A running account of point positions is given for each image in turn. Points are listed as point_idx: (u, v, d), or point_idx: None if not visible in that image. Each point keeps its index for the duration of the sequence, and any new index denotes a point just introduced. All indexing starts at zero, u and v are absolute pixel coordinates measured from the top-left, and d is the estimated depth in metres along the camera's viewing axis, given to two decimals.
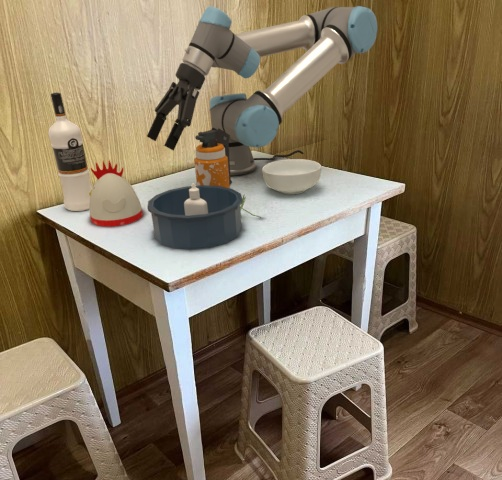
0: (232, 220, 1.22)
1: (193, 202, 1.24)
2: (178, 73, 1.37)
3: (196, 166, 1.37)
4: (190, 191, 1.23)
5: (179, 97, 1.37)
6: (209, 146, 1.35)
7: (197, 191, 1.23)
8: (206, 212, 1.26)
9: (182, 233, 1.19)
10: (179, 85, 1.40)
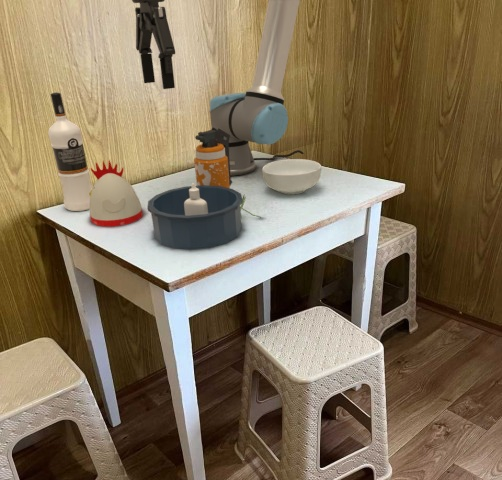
0: (232, 220, 1.22)
1: (193, 202, 1.24)
2: None
3: (196, 166, 1.37)
4: (190, 191, 1.23)
5: (149, 26, 1.18)
6: (209, 146, 1.35)
7: (197, 191, 1.23)
8: (206, 212, 1.26)
9: (182, 233, 1.19)
10: (142, 9, 1.20)
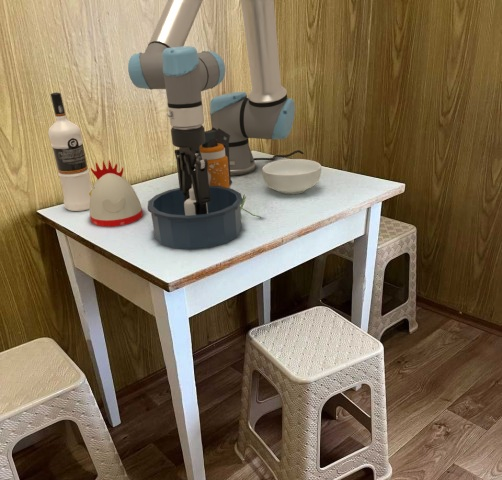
0: (232, 220, 1.22)
1: (193, 202, 1.24)
2: (175, 144, 1.15)
3: None
4: (190, 191, 1.23)
5: (188, 170, 1.18)
6: (209, 146, 1.35)
7: None
8: None
9: (182, 233, 1.19)
10: (182, 149, 1.19)
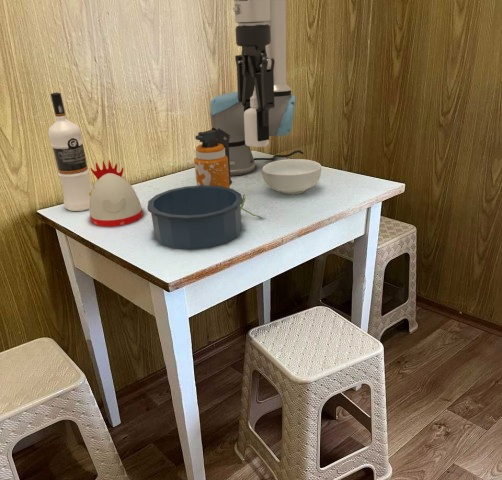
0: (232, 220, 1.22)
1: (255, 110, 1.18)
2: (240, 42, 1.10)
3: (196, 166, 1.37)
4: (251, 99, 1.17)
5: (252, 73, 1.13)
6: (209, 146, 1.35)
7: None
8: None
9: (182, 233, 1.19)
10: (245, 52, 1.14)
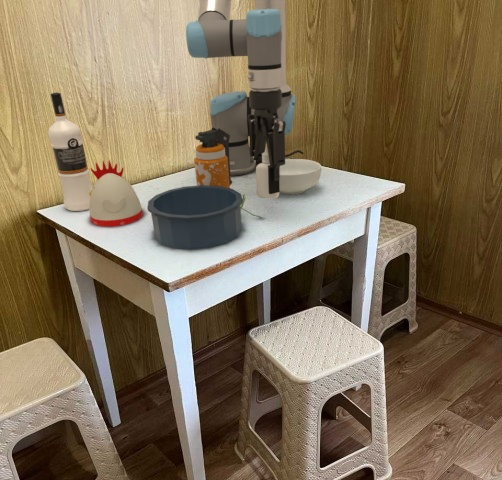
0: (232, 220, 1.22)
1: (266, 166, 1.26)
2: (253, 106, 1.18)
3: (196, 166, 1.37)
4: (263, 155, 1.25)
5: (264, 133, 1.21)
6: (209, 146, 1.35)
7: None
8: None
9: (182, 233, 1.19)
10: (258, 113, 1.22)
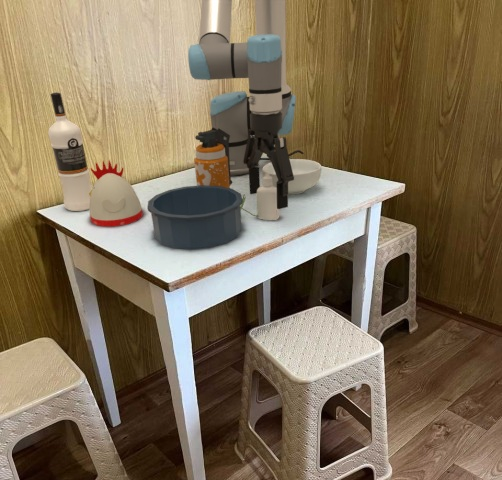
0: (232, 220, 1.22)
1: (267, 189, 1.29)
2: (254, 128, 1.20)
3: (196, 166, 1.37)
4: (264, 179, 1.28)
5: (267, 152, 1.22)
6: (209, 146, 1.35)
7: (271, 179, 1.28)
8: None
9: (182, 233, 1.19)
10: (259, 134, 1.24)
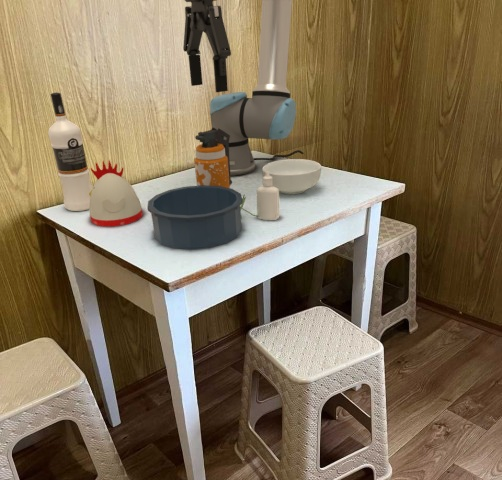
0: (232, 220, 1.22)
1: (267, 189, 1.29)
2: None
3: (196, 166, 1.37)
4: (264, 179, 1.28)
5: (202, 26, 1.12)
6: (209, 146, 1.35)
7: (271, 179, 1.28)
8: (278, 199, 1.31)
9: (182, 233, 1.19)
10: (194, 9, 1.14)
